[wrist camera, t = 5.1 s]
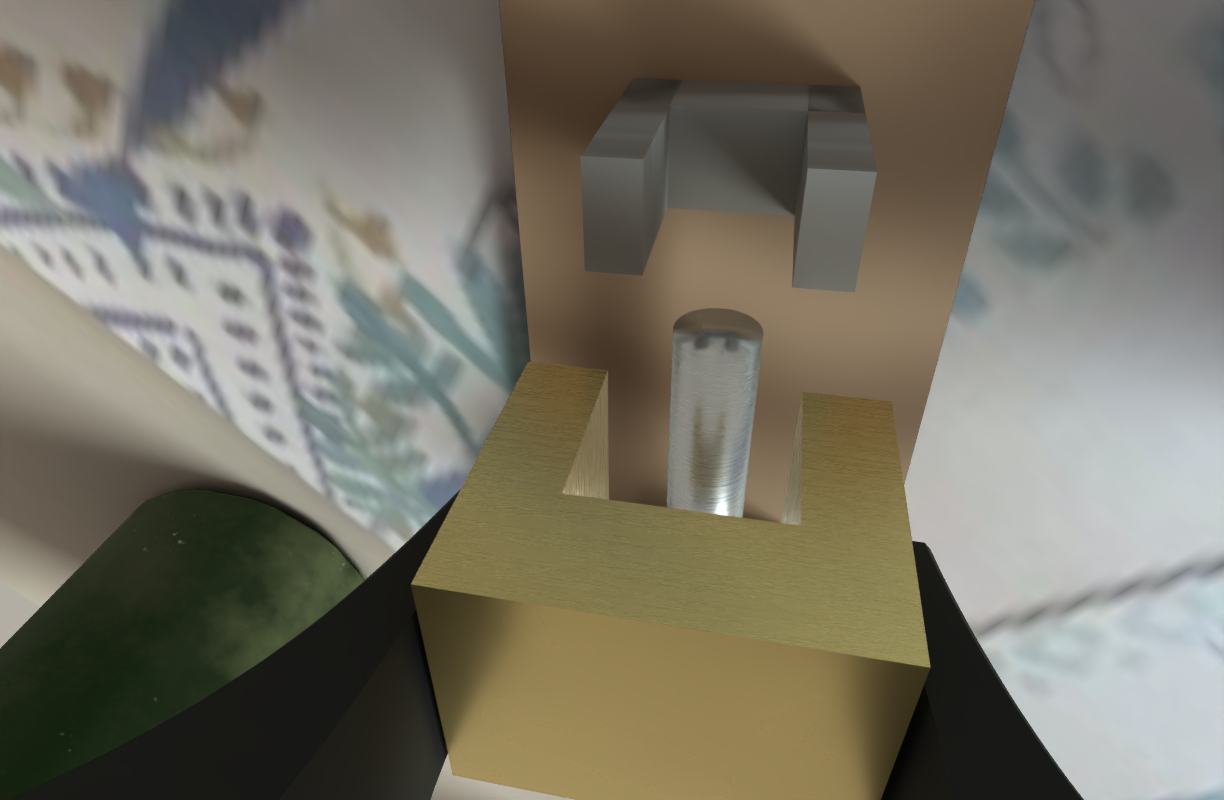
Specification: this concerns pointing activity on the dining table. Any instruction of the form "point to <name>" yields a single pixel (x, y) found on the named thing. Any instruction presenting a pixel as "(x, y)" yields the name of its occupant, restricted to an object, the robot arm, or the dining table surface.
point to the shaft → (712, 409)
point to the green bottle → (158, 627)
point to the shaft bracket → (751, 197)
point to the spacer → (673, 615)
